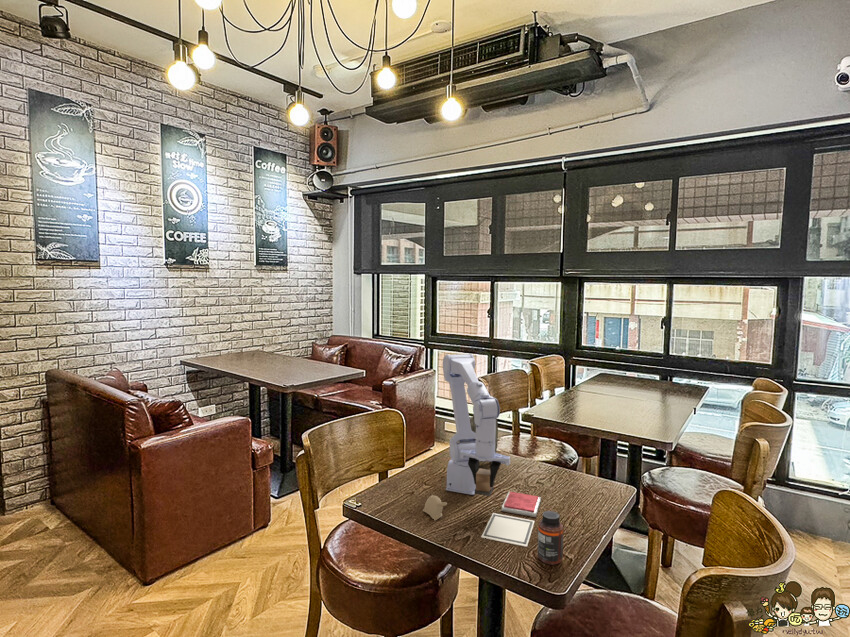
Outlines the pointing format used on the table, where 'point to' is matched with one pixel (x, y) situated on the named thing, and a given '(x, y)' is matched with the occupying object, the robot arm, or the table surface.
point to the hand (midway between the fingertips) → (484, 484)
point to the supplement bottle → (550, 538)
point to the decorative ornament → (434, 507)
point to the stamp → (483, 482)
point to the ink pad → (521, 504)
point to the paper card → (508, 529)
